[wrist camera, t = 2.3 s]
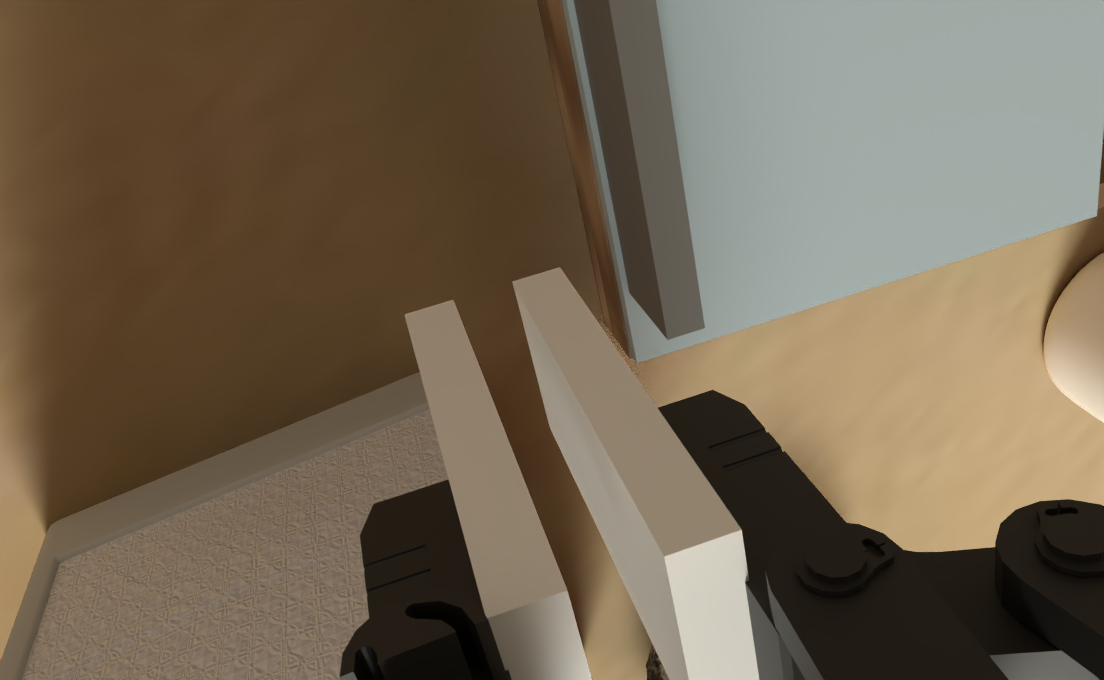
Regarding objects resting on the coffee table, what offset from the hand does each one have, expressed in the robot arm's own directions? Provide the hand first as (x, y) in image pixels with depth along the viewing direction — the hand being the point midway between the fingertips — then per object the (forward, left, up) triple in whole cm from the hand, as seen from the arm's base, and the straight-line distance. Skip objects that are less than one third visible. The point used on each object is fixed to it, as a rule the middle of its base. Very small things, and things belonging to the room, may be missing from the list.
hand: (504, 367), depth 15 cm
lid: (0, +14, -15) cm, 21 cm away
